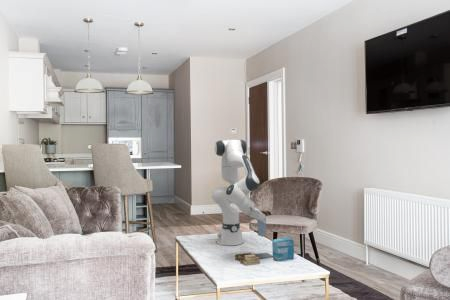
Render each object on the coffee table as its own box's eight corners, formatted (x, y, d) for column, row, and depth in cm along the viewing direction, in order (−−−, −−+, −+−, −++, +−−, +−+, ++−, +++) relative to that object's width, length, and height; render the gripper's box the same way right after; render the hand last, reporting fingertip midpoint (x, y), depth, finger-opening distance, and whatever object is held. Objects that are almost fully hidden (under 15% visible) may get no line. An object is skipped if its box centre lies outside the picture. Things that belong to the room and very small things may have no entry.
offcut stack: (242, 263, 260) (242, 255, 260) (256, 261, 263) (256, 254, 263) (245, 265, 256) (245, 257, 255) (260, 263, 259) (259, 255, 259)
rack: (234, 259, 269) (234, 254, 269) (250, 257, 273) (250, 252, 273) (241, 263, 260) (240, 258, 260) (257, 261, 264) (256, 256, 264)
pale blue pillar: (257, 235, 277) (257, 213, 277) (262, 234, 279) (261, 213, 278) (261, 236, 272) (261, 214, 272) (266, 236, 273) (265, 214, 273)
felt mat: (250, 255, 278) (250, 254, 278) (266, 253, 282) (266, 252, 282) (257, 259, 269) (257, 258, 269) (274, 257, 273) (274, 256, 273)
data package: (276, 261, 263) (275, 240, 263) (272, 259, 267) (272, 239, 267) (294, 259, 268) (293, 238, 267) (290, 257, 272) (289, 237, 272)
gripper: (257, 204, 263) (273, 220, 267) (244, 201, 282) (258, 215, 286) (251, 212, 262) (266, 228, 265) (237, 208, 281) (252, 223, 284)
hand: (262, 221), depth 276 cm, fingers closed on pale blue pillar, 5 cm apart
